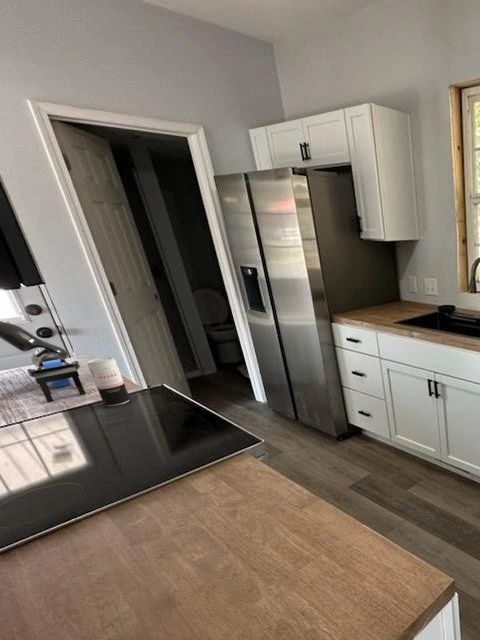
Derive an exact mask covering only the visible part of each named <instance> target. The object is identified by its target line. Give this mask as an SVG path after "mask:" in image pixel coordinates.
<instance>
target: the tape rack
mask: <svg viewBox="0 0 480 640" xmlns="http://www.w3.org/2000/svg"><path fill="white" fill-rule="evenodd" d="M34 374H35V377H34V378H35V381H36V384H37V385H39V387H40V389H41V391H42V393H43V395H44V397H45V400H46V402H47V403H51V402H54V398H53V396H52V392H51V389H50V388H49V385H48V383H51V382H52V381H57V380H62V379H67V378H69V379H71V378H72V380H73V384H74V385H75V388H77V391H78V393H79V395H80V396H83V395H86V394H87V393H86V391H85V389H84V386H83V384H82V382H81V379H80V374H79V372H78V369H77V370H76V368H75V367H74V365H73V364H71V363H69V364H68V365H62V366H57V367H51V368H46V369H40V370H38V369H35V371H34Z"/></svg>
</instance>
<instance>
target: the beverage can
mask: <svg viewBox="0 0 480 640" xmlns="http://www.w3.org/2000/svg"><path fill="white" fill-rule="evenodd" d="M87 367H88V370H89V373H90V374H91V377H92V379H93V382H94V384H95V386H96V389H97V392H98V394H99V395H100V396H99V397H100V398H101V400H102V401H101V402H102V403H103V405H104V406H106V407H115V406H119V405H123V404H126V403H128V402H130V400H131V396H130V394H129V392H128V389H127V387H126V385H125V381H124V379H123V377H122V374H121V372H120V368H119V366H118V364H117V361H116V359H115V358H114V357H113V356H107V357H99V358H94V359H91V360H87ZM129 399H130V400H129Z"/></svg>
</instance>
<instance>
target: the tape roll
mask: <svg viewBox="0 0 480 640" xmlns="http://www.w3.org/2000/svg"><path fill="white" fill-rule="evenodd" d="M42 364H43V366H44V368H45V369H46V368H51V367H57V366H62V363H61V361H60V359H57V360H52V361H46V362H42ZM50 384H51V385H52V387H53V389H57V388H61V387H66V386H72V382H71V381H70V378H67V379H62V380H57V381H52V382H50Z"/></svg>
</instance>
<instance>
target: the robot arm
mask: <svg viewBox="0 0 480 640" xmlns="http://www.w3.org/2000/svg"><path fill="white" fill-rule="evenodd" d="M0 340H2V341H3V342H5V343H7V344H8V345H11V346H12V347H13V348H15V349H17V350H18V351H20V352H22V353H27V352H30V351H32V350H35V349H38V348H42V350H41V351H39V352H38V353H36V354H35V355H33V356H32V357H31V363H32V364H33V365H34V366H35V367H37V370H40V369H45V368H44V366H43V364H42V362H46V361H52V360H57V359H60V361H61V363H62V365H68V364H73V365H74V367H75V368H76V370H77V371H78V370H79V369H80V368H81V365H80V363H79V360H73V361H71V363H69V362H68V361H66V359H67V358H68V357H69V353H68V351H67V350H66V349H64V348H63V347H60V346H58V345H55V344H52V343H49V342H46V341H44V340H43V339H40V338H38V337H37V336H35V335H34V334H32V333H30V332H29V331H27V330H26V329H24V328H23V327H21V326H19V325H17V324H13V323H10V322H7V321H1V320H0ZM26 370H27V373H28V375H29V377H32V378H35V374H34V371H35V370H36V369H35V368H27V369H26Z"/></svg>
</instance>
